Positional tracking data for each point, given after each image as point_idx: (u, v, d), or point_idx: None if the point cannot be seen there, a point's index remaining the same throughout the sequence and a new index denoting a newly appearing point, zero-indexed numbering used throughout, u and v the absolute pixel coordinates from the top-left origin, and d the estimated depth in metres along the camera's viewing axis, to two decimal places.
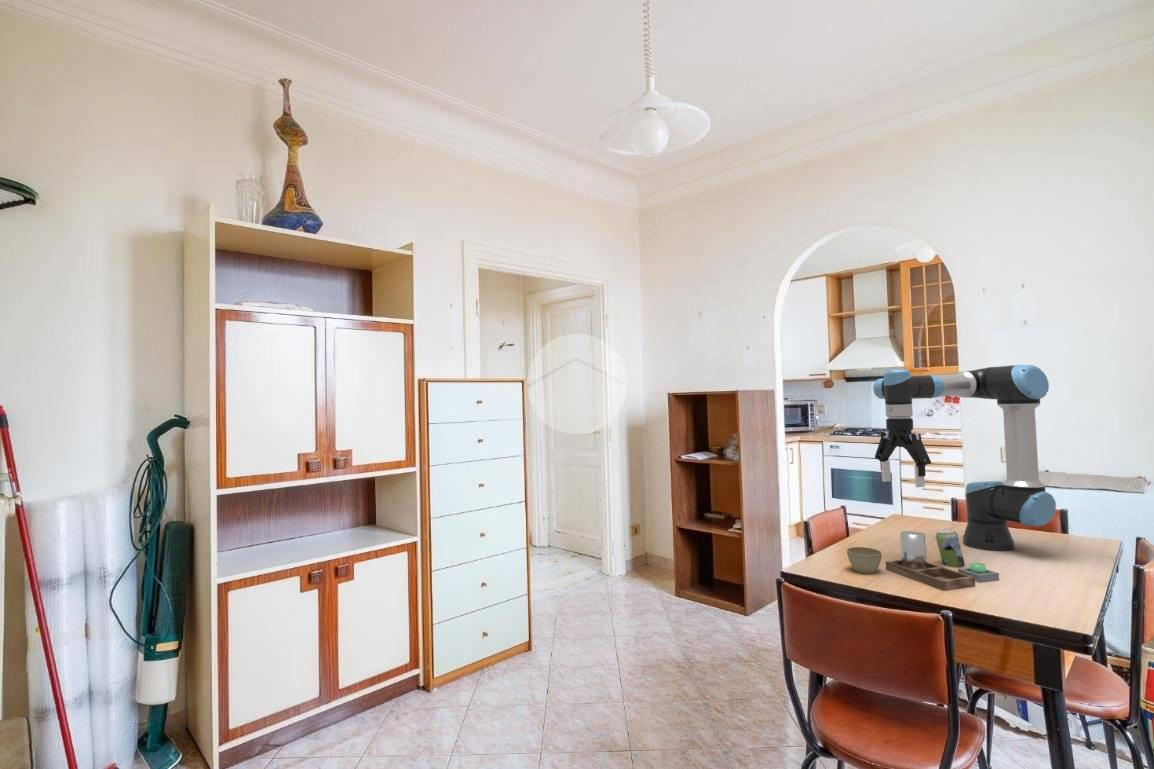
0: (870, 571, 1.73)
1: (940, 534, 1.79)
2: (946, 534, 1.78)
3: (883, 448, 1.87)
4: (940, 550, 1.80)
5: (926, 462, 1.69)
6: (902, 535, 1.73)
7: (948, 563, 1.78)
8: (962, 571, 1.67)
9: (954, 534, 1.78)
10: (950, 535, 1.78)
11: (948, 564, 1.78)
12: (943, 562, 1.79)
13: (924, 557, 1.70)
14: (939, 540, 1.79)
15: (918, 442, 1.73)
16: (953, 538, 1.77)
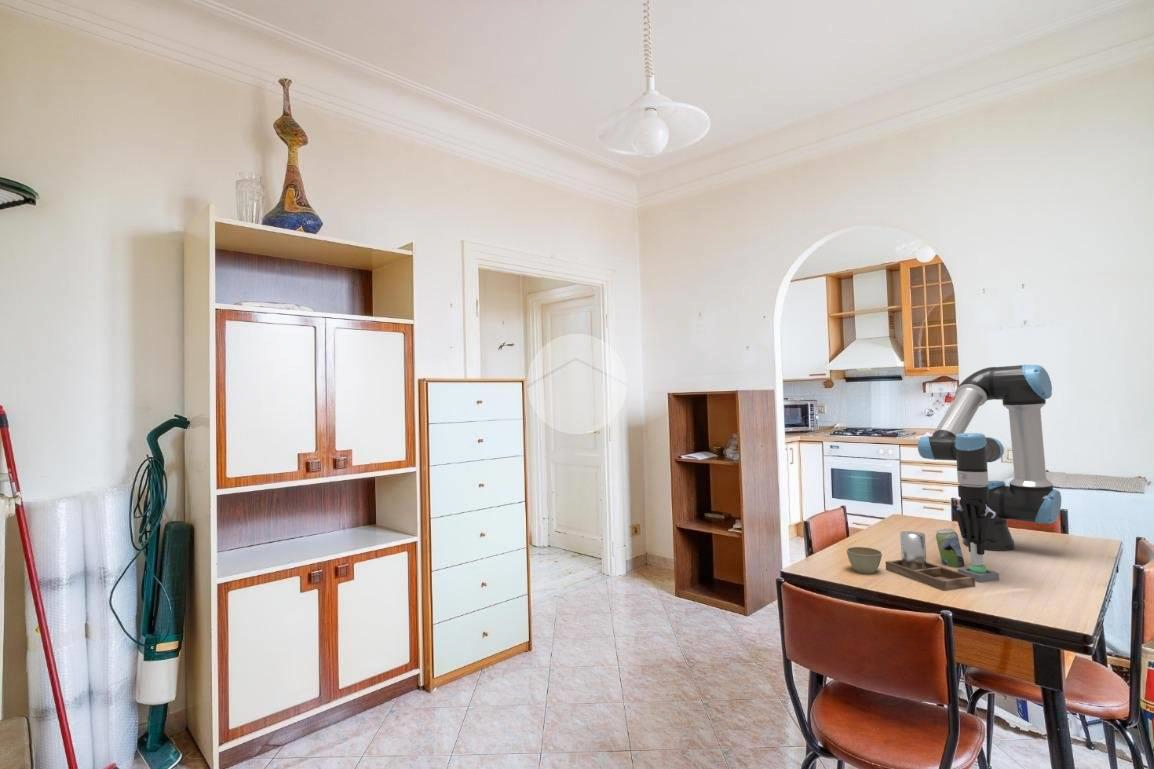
0: (870, 571, 1.73)
1: (940, 534, 1.79)
2: (946, 534, 1.78)
3: (964, 523, 1.70)
4: (940, 550, 1.80)
5: (986, 541, 1.63)
6: (902, 535, 1.73)
7: (948, 563, 1.78)
8: (962, 571, 1.67)
9: (954, 534, 1.78)
10: (950, 535, 1.78)
11: (948, 564, 1.78)
12: (943, 562, 1.79)
13: (924, 557, 1.70)
14: (939, 540, 1.79)
15: (990, 520, 1.62)
16: (953, 538, 1.77)
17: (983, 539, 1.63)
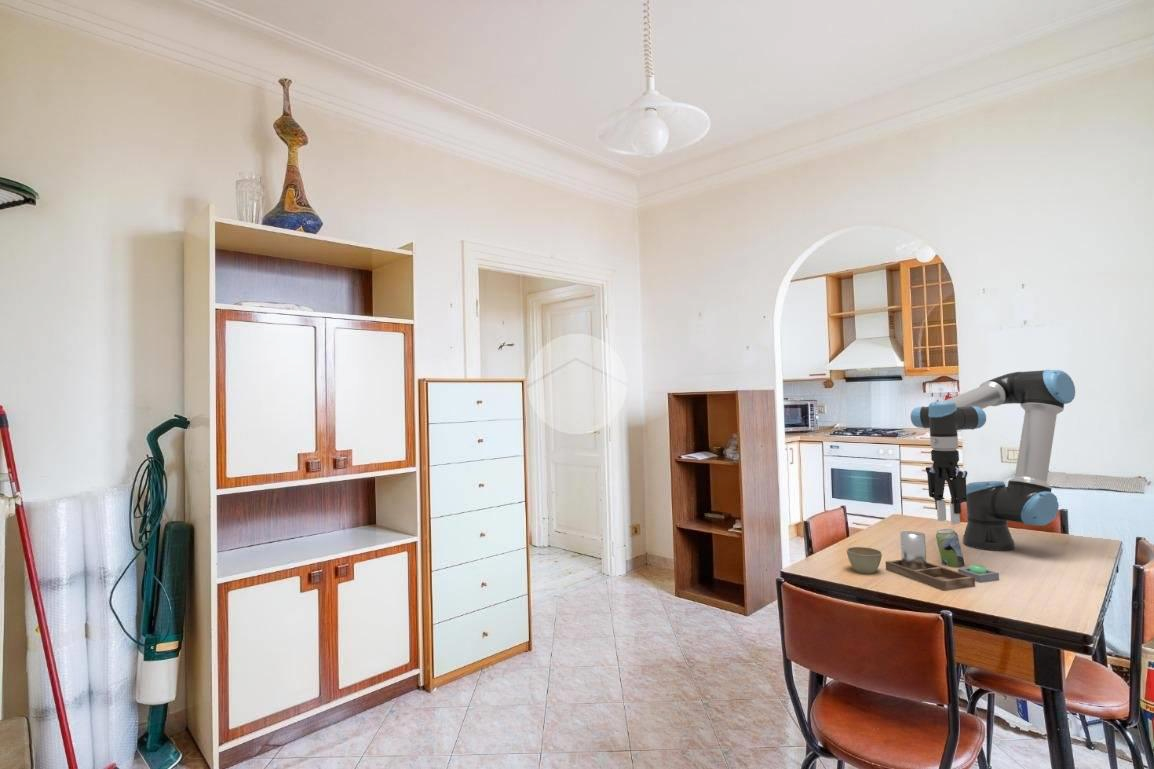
0: (870, 571, 1.73)
1: (940, 534, 1.79)
2: (946, 534, 1.78)
3: (934, 484, 1.85)
4: (940, 550, 1.80)
5: (962, 500, 1.75)
6: (902, 535, 1.73)
7: (948, 563, 1.78)
8: (962, 571, 1.67)
9: (954, 534, 1.78)
10: (950, 535, 1.78)
11: (948, 564, 1.78)
12: (943, 562, 1.79)
13: (924, 557, 1.70)
14: (939, 540, 1.79)
15: (962, 480, 1.75)
16: (953, 538, 1.77)
17: (959, 498, 1.75)
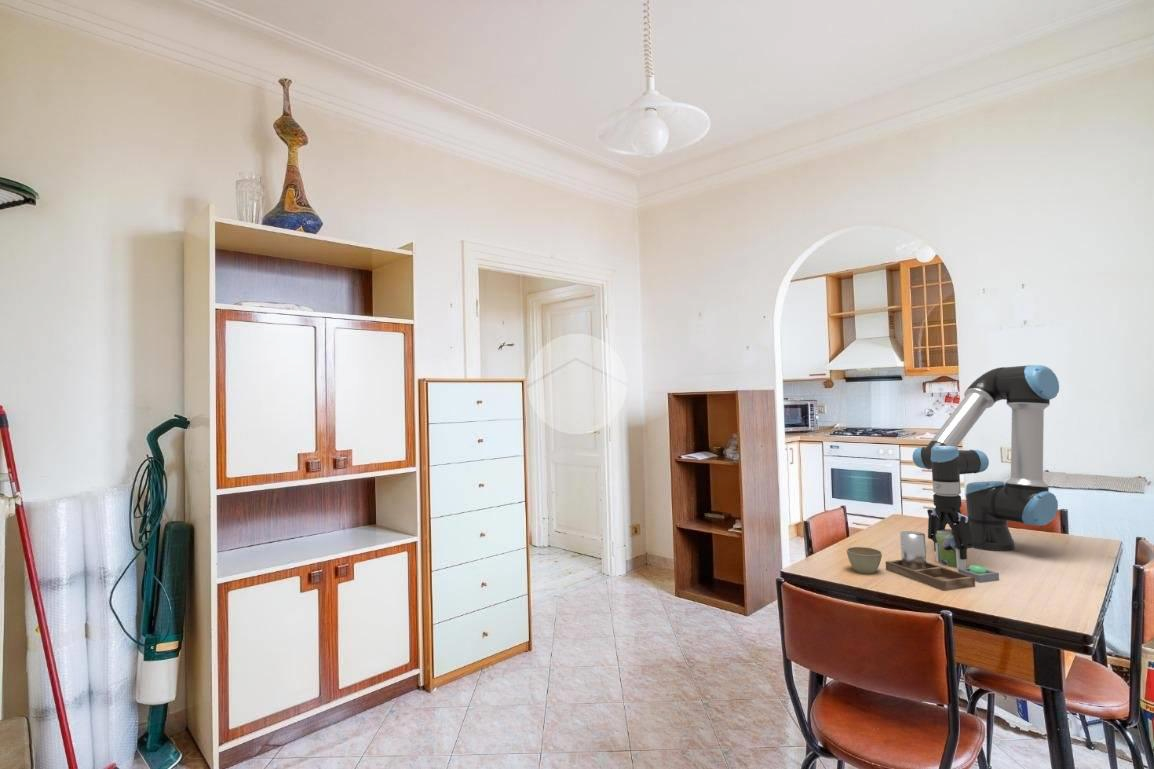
0: (870, 571, 1.73)
1: (940, 534, 1.79)
2: (946, 534, 1.78)
3: (934, 526, 1.85)
4: (940, 550, 1.80)
5: (968, 546, 1.73)
6: (902, 535, 1.73)
7: (948, 563, 1.78)
8: (962, 571, 1.67)
9: None
10: (950, 535, 1.78)
11: (948, 564, 1.78)
12: (943, 562, 1.79)
13: (924, 557, 1.70)
14: (939, 540, 1.79)
15: (966, 525, 1.74)
16: (953, 538, 1.77)
17: (965, 544, 1.73)
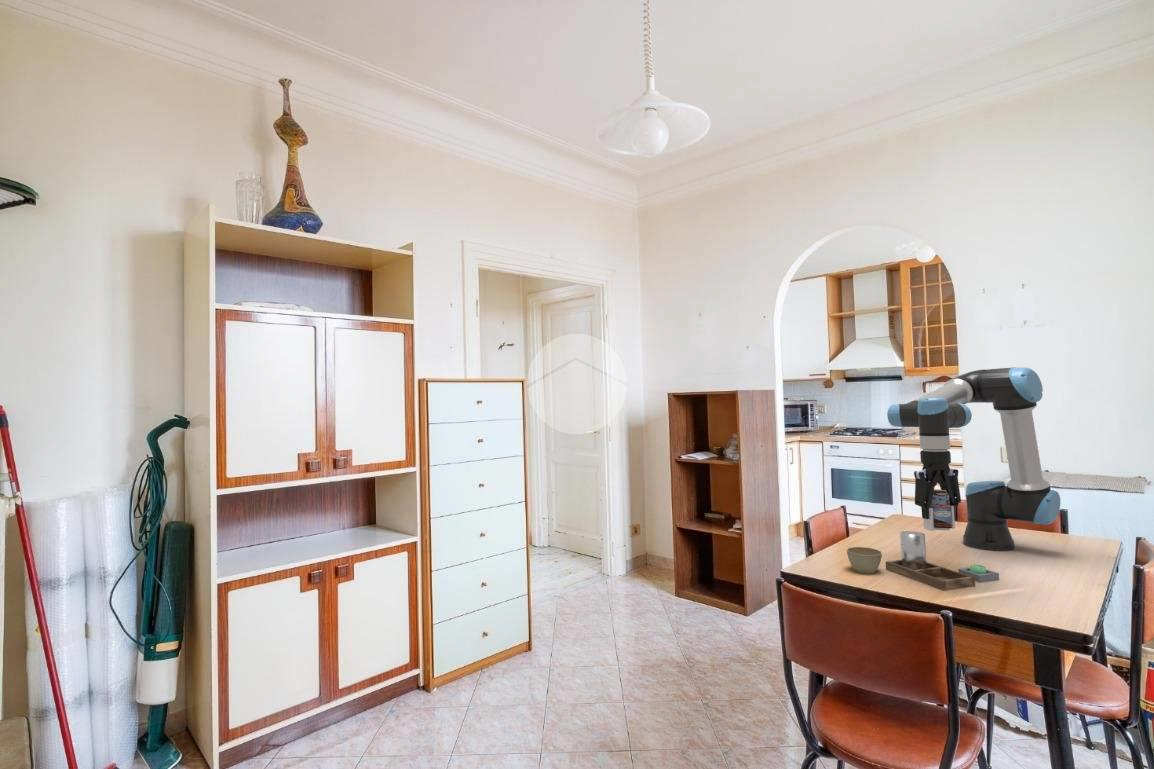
0: (870, 571, 1.73)
1: None
2: None
3: (952, 488, 1.65)
4: None
5: (917, 503, 1.63)
6: (902, 535, 1.73)
7: None
8: (962, 571, 1.67)
9: None
10: None
11: None
12: None
13: (924, 557, 1.70)
14: None
15: (918, 481, 1.63)
16: None
17: None
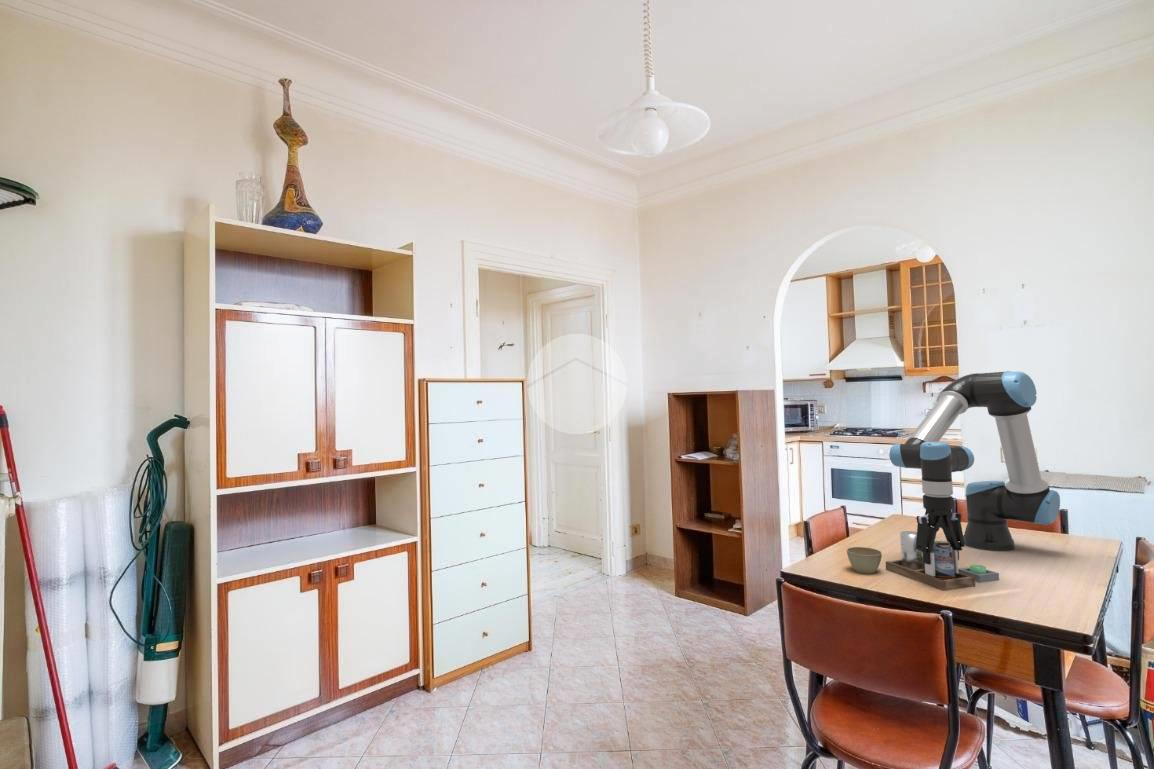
0: (870, 571, 1.73)
1: None
2: None
3: (955, 532, 1.65)
4: None
5: (918, 548, 1.62)
6: (902, 535, 1.73)
7: None
8: (962, 571, 1.67)
9: (933, 544, 1.63)
10: None
11: None
12: None
13: None
14: None
15: (920, 526, 1.62)
16: None
17: None
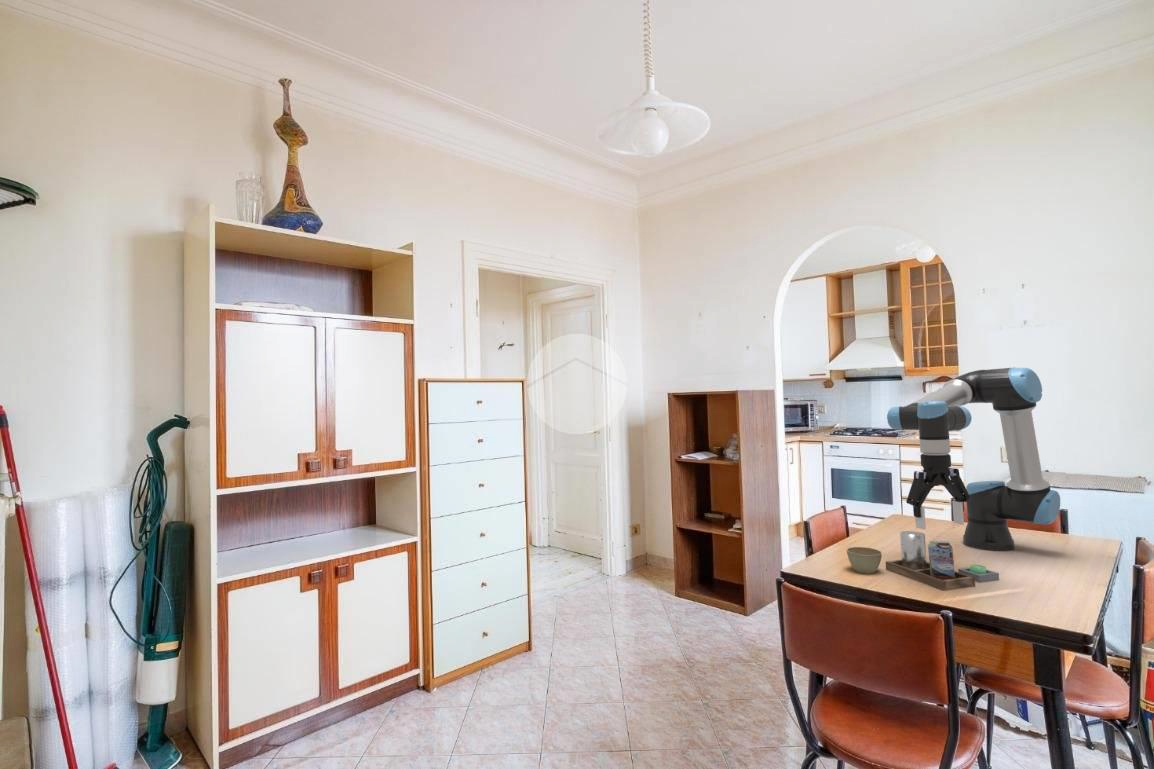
0: (870, 571, 1.73)
1: None
2: None
3: (957, 486, 1.66)
4: None
5: (908, 502, 1.62)
6: (902, 535, 1.73)
7: None
8: (962, 571, 1.67)
9: (933, 544, 1.63)
10: (930, 544, 1.65)
11: None
12: None
13: (924, 557, 1.70)
14: None
15: (916, 480, 1.63)
16: (930, 548, 1.64)
17: None
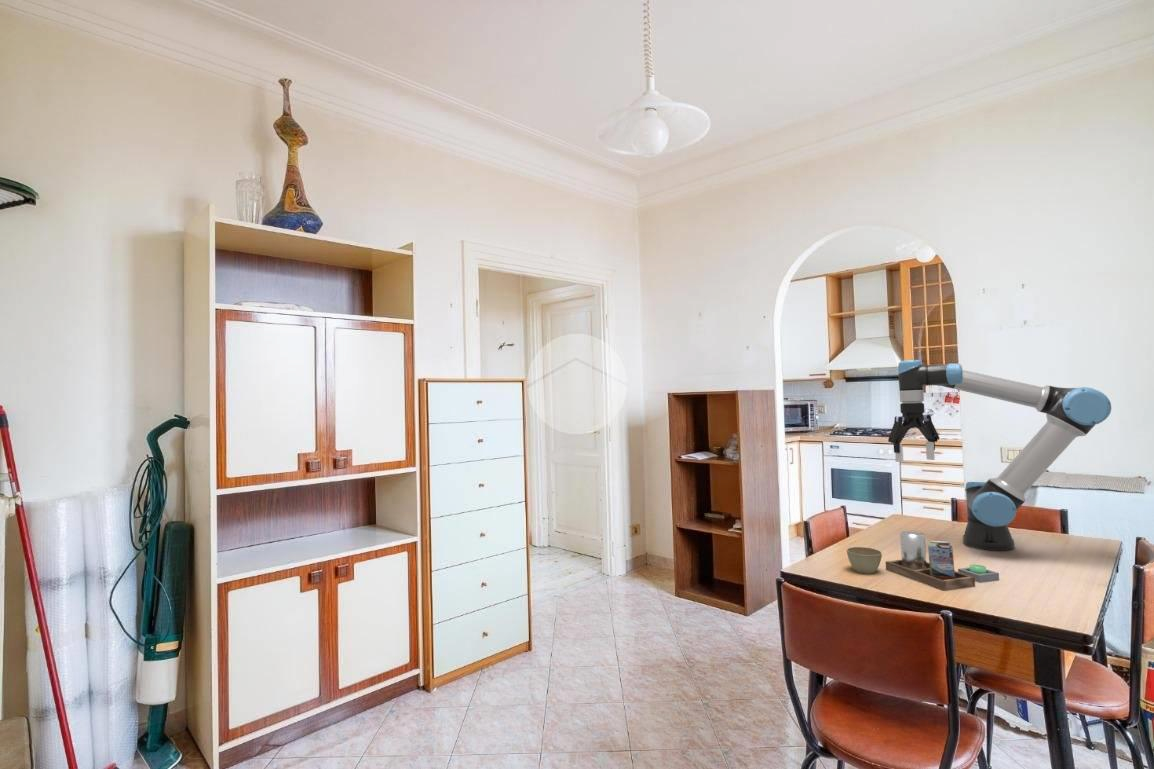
0: (870, 571, 1.73)
1: None
2: None
3: (930, 430, 2.05)
4: None
5: (889, 440, 2.01)
6: (902, 535, 1.73)
7: None
8: (962, 571, 1.67)
9: (933, 544, 1.63)
10: (930, 544, 1.65)
11: None
12: None
13: (924, 557, 1.70)
14: None
15: (896, 423, 2.02)
16: (930, 548, 1.64)
17: None
